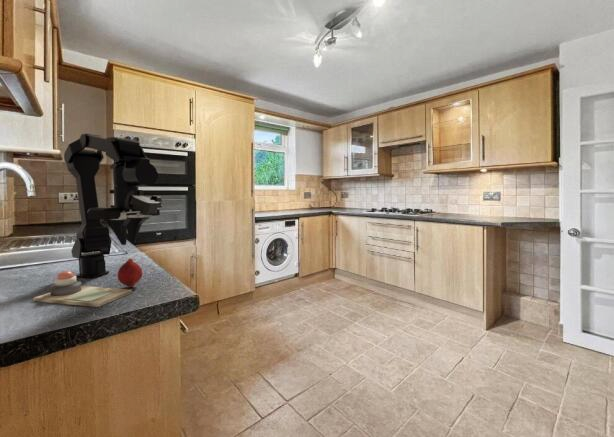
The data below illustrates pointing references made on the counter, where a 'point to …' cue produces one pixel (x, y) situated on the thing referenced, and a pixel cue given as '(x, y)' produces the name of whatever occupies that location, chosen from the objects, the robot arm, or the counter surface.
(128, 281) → the onion
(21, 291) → the counter surface
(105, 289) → the board
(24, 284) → the counter surface
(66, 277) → the button
